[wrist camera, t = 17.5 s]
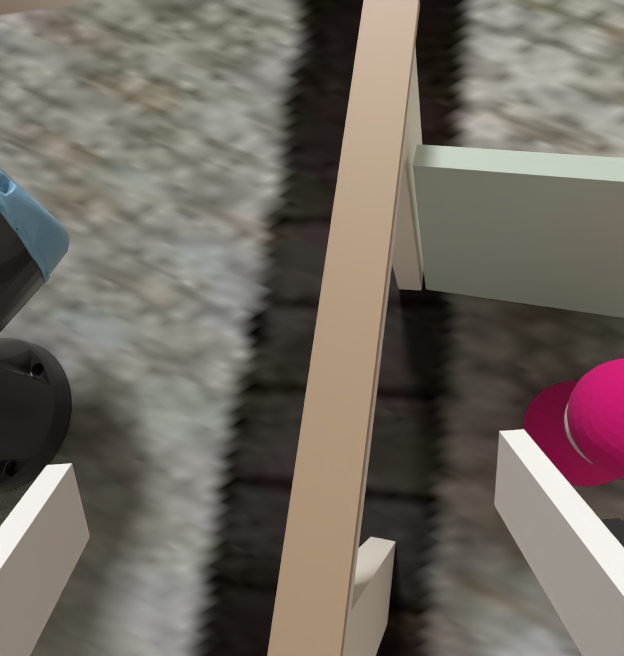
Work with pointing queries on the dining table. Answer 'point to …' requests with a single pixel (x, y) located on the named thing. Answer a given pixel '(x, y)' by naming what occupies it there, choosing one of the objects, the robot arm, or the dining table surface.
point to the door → (523, 226)
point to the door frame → (353, 355)
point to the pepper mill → (582, 425)
